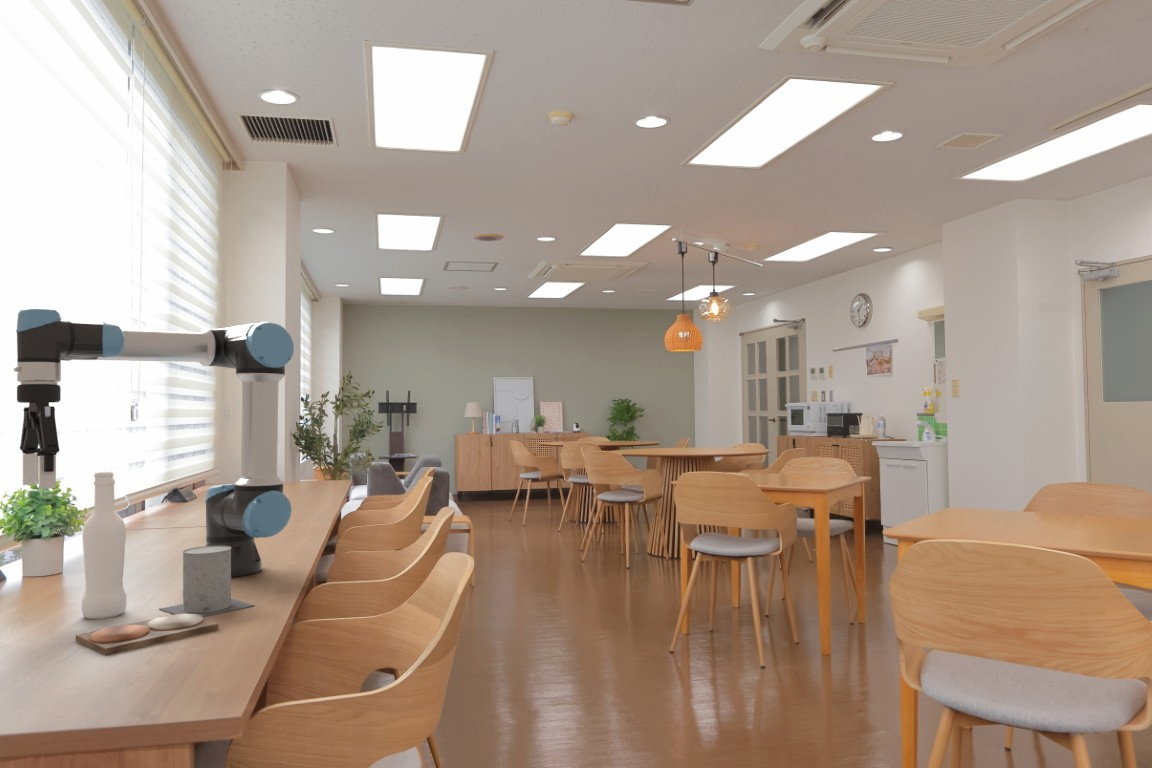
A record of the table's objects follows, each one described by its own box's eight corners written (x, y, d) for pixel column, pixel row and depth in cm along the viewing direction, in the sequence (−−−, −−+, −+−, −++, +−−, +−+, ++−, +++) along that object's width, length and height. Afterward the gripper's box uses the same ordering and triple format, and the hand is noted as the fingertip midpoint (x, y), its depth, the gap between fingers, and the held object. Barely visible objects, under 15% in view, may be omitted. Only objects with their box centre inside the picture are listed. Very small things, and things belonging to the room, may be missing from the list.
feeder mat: (223, 597, 182) (223, 596, 182) (254, 606, 173) (254, 605, 173) (159, 609, 172) (159, 608, 172) (189, 620, 163) (189, 619, 163)
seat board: (184, 618, 164) (185, 609, 164) (218, 629, 155) (218, 620, 155) (75, 641, 149) (75, 631, 149) (105, 655, 140) (105, 645, 140)
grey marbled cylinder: (212, 613, 167) (212, 554, 167) (172, 611, 169) (172, 553, 169) (240, 602, 176) (240, 546, 177) (202, 600, 178) (202, 545, 179)
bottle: (135, 611, 170) (135, 470, 171) (101, 621, 163) (101, 473, 164) (106, 608, 173) (107, 469, 174) (72, 618, 165) (72, 472, 166)
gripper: (3, 385, 172) (3, 484, 171) (32, 381, 155) (32, 491, 154) (44, 385, 177) (44, 481, 177) (76, 381, 160) (77, 488, 159)
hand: (38, 486), depth 165 cm, fingers open, 13 cm apart
